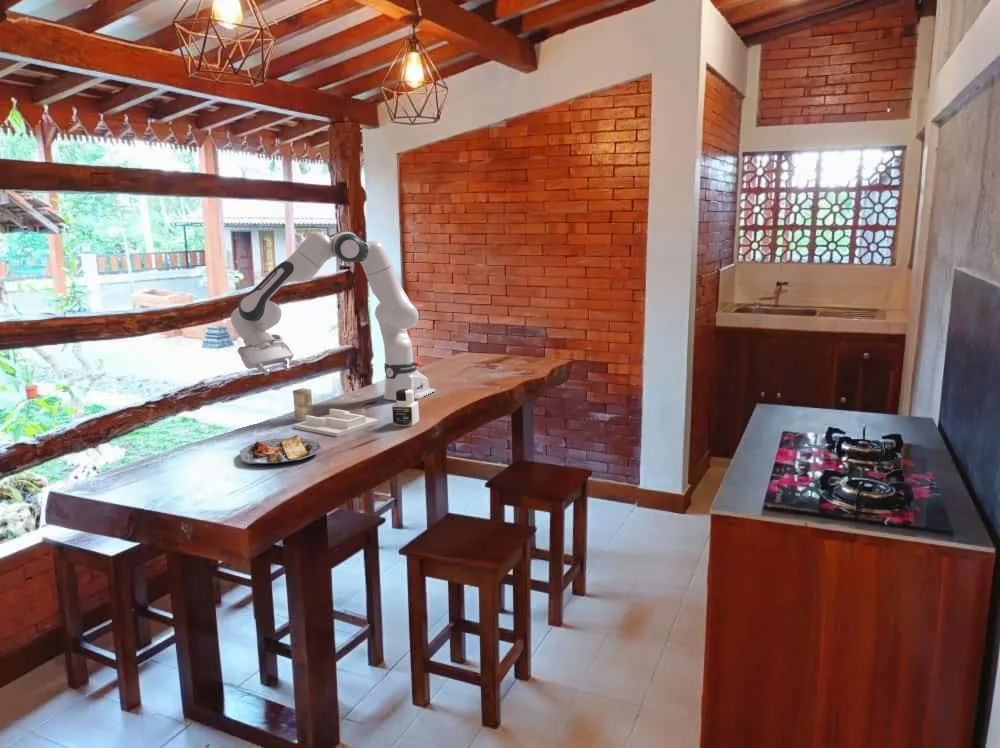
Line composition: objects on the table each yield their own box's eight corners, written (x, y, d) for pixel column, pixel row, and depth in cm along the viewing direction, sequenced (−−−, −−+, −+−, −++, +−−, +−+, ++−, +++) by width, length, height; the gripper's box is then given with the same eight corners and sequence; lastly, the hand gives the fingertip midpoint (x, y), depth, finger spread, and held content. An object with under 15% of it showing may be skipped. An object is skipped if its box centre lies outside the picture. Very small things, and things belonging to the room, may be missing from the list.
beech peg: (305, 417, 271) (302, 388, 268) (313, 418, 268) (311, 389, 266) (295, 420, 267) (292, 390, 265) (303, 421, 264) (301, 391, 262)
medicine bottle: (393, 425, 255) (391, 391, 253) (400, 420, 262) (398, 387, 260) (412, 426, 253) (410, 392, 251) (419, 421, 260) (417, 387, 258)
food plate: (239, 449, 233) (238, 438, 232) (314, 440, 241) (313, 430, 240) (241, 474, 210) (240, 462, 209) (325, 464, 218) (324, 452, 217)
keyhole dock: (336, 415, 272) (335, 405, 271) (379, 422, 260) (379, 412, 259) (293, 428, 256) (292, 417, 255) (337, 436, 244) (336, 425, 243)
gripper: (238, 342, 265) (258, 371, 261) (284, 334, 281) (303, 361, 278) (232, 353, 268) (251, 382, 265) (277, 345, 285) (296, 372, 281)
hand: (278, 371), depth 271 cm, fingers open, 8 cm apart
